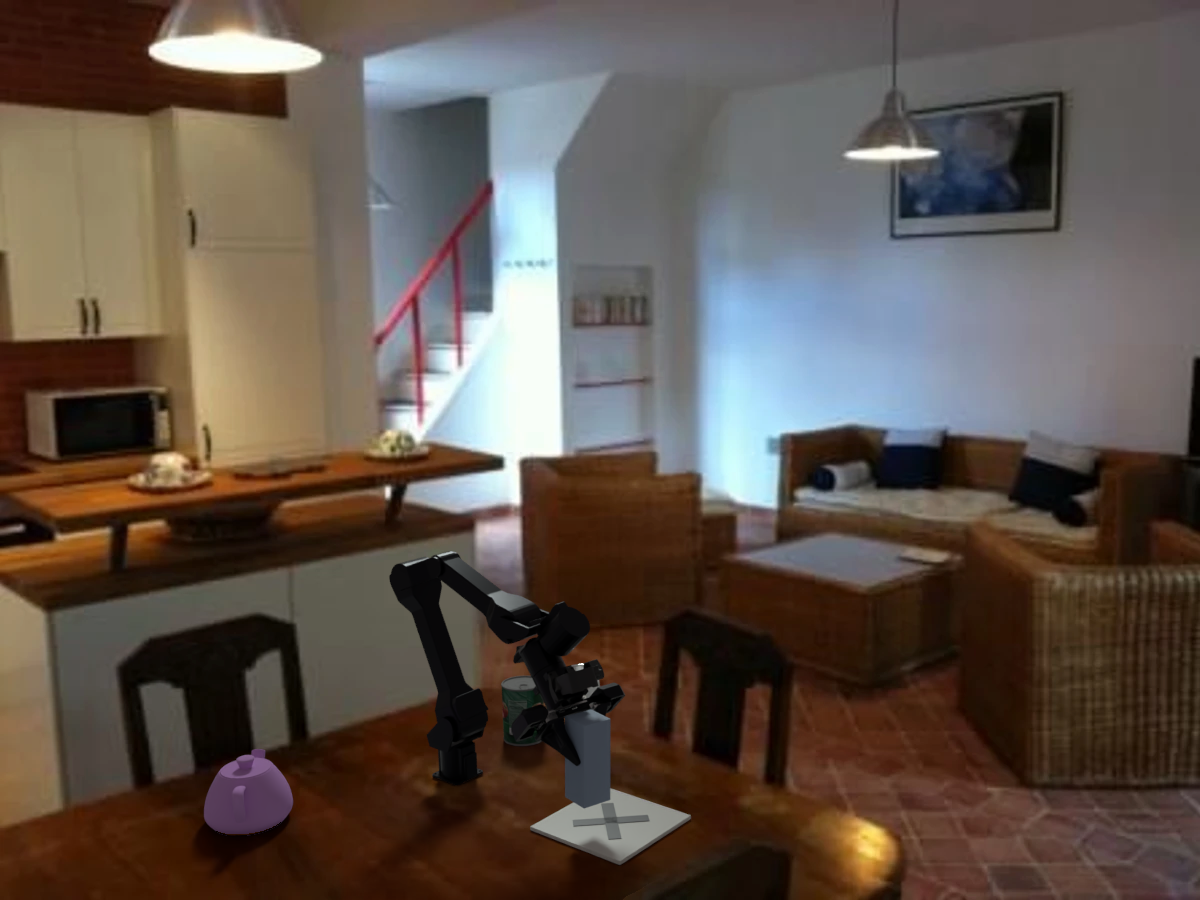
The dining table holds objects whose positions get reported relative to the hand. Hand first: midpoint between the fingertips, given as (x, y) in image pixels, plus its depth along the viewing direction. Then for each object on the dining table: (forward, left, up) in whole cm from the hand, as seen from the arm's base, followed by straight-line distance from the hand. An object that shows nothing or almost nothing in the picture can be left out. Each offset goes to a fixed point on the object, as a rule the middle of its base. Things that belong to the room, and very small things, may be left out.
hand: (593, 759), depth 171 cm
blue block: (-1, 0, -7) cm, 7 cm away
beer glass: (-24, +25, -13) cm, 36 cm away
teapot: (-50, -28, -13) cm, 59 cm away
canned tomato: (-36, +22, -13) cm, 44 cm away
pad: (-1, +5, -13) cm, 13 cm away
